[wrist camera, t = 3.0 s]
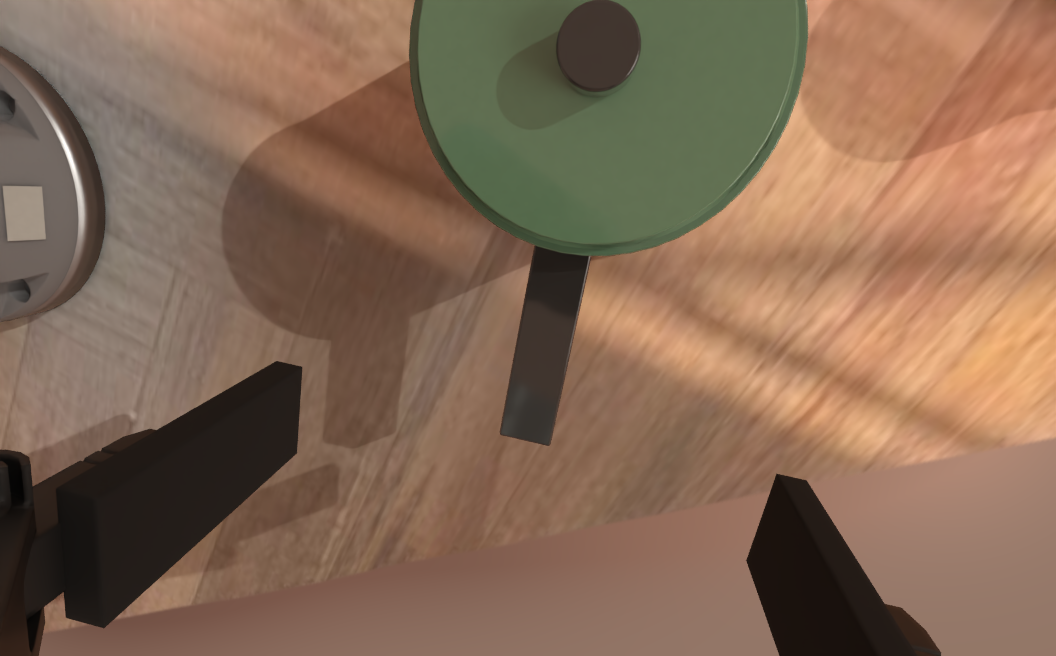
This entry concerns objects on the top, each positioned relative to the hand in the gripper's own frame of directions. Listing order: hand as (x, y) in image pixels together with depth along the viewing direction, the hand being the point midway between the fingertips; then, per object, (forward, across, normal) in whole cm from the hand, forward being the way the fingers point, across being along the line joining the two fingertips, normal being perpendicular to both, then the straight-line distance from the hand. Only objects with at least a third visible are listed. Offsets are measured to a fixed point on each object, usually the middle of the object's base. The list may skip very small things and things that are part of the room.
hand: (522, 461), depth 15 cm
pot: (+13, 0, +7) cm, 15 cm away
